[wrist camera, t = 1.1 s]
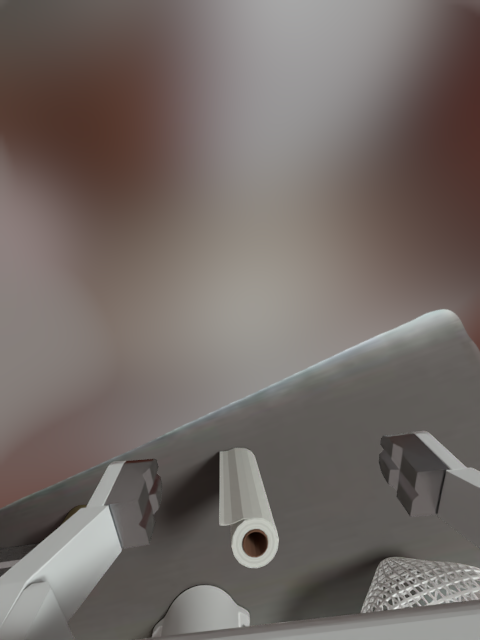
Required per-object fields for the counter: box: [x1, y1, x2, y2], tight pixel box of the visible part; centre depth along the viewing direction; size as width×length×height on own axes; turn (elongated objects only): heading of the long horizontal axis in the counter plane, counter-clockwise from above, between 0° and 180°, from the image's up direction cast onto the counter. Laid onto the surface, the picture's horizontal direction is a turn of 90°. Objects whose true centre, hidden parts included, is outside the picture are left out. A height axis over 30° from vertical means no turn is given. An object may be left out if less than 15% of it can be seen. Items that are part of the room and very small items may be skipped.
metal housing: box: [0, 543, 40, 568], centre depth 46 cm, size 12×12×4 cm
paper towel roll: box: [219, 448, 279, 568], centre depth 42 cm, size 7×6×21 cm
